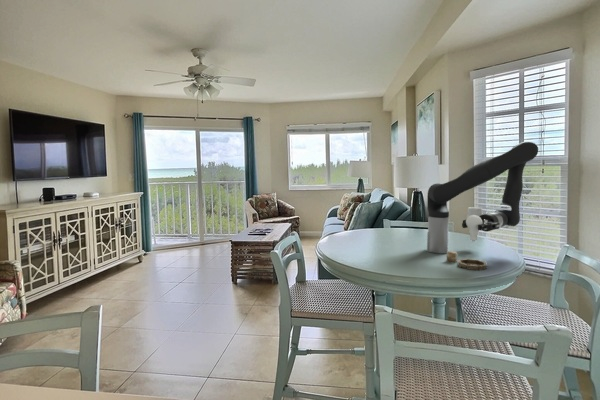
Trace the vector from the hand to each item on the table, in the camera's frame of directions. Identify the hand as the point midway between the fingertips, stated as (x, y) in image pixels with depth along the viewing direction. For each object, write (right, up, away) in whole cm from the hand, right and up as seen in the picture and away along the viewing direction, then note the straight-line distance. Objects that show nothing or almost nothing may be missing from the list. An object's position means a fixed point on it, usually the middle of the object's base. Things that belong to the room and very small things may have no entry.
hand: (471, 226), depth 140 cm
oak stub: (-3, -16, +11) cm, 20 cm away
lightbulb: (+2, -7, +2) cm, 7 cm away
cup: (+18, -14, +33) cm, 40 cm away
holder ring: (+2, -17, +3) cm, 17 cm away
